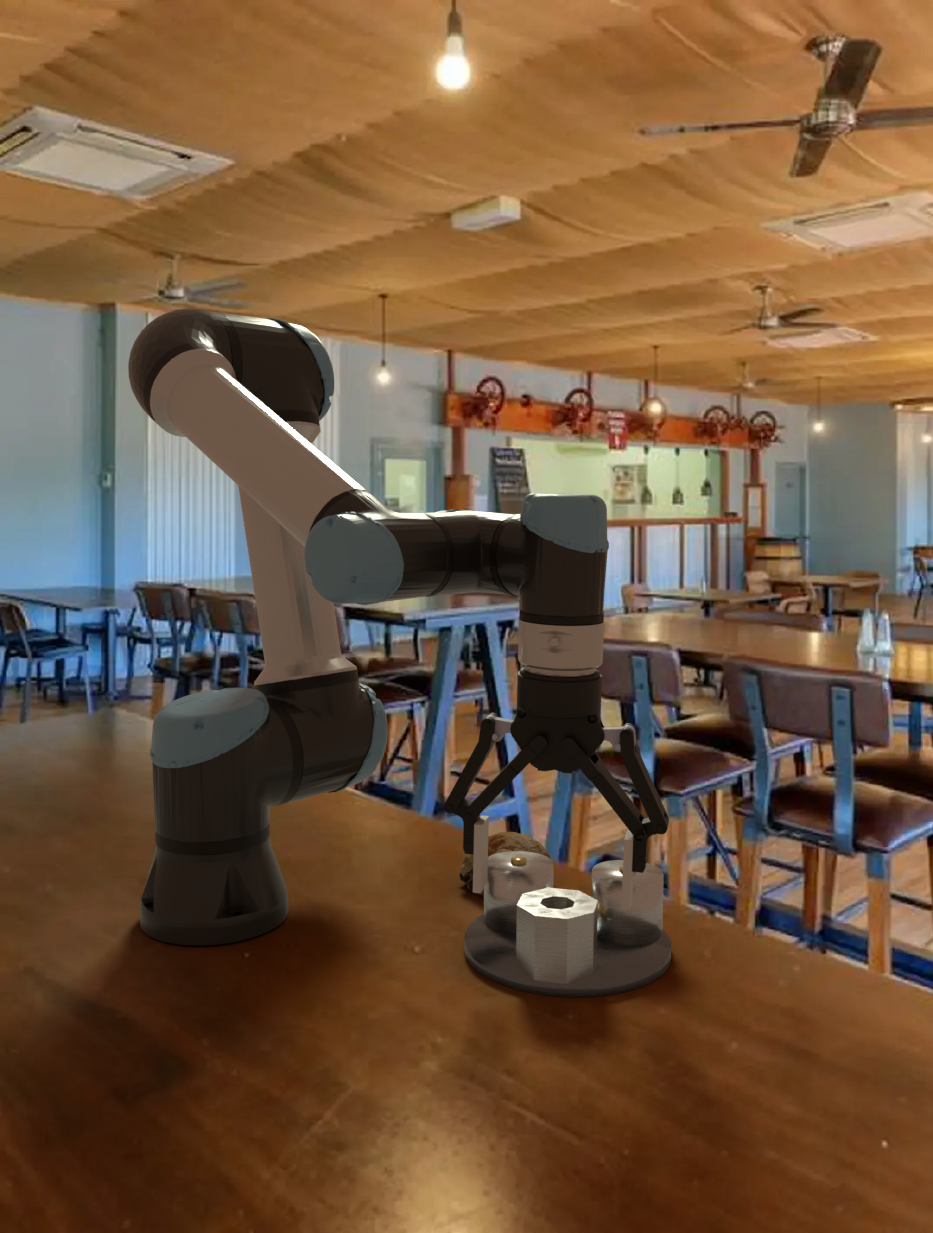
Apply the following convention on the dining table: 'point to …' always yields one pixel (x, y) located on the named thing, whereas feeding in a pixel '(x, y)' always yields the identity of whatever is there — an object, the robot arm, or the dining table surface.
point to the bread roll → (499, 845)
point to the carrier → (624, 938)
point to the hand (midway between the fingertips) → (552, 896)
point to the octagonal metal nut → (557, 935)
